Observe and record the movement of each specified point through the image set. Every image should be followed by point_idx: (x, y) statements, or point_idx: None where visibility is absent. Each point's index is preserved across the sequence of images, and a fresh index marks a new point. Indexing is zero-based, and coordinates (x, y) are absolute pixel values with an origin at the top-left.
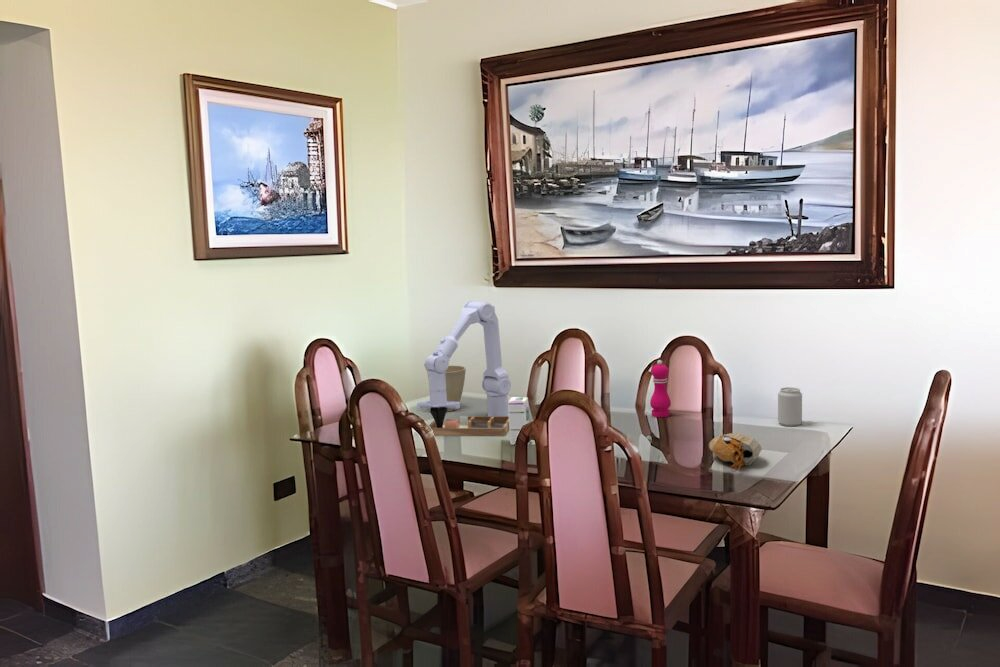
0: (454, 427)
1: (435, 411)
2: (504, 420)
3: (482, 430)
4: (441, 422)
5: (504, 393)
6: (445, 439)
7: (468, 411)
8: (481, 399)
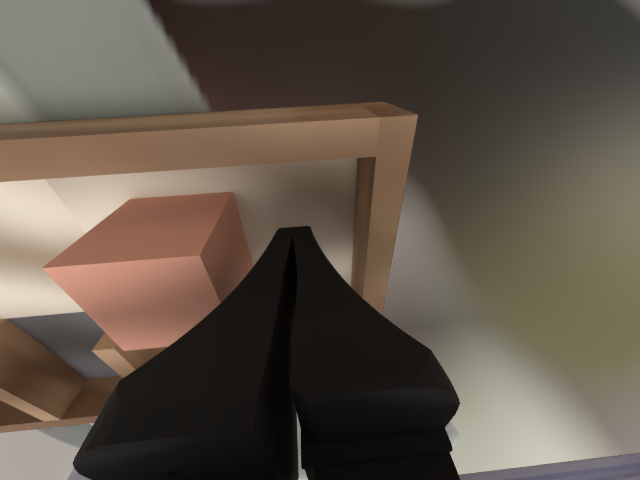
0: (113, 226)
1: (310, 394)
2: (3, 404)
3: None
4: (256, 263)
5: None
6: (144, 23)
7: (297, 437)
8: (303, 473)
